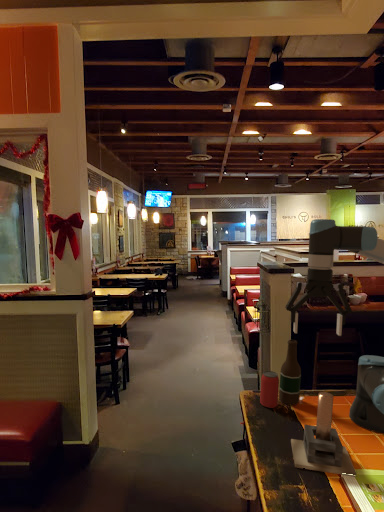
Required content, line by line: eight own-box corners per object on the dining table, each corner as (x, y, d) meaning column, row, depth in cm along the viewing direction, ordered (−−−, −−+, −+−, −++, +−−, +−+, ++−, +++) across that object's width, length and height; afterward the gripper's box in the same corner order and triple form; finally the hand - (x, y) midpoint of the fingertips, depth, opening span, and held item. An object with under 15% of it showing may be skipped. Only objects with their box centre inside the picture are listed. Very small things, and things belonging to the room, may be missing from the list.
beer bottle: (300, 406, 132) (304, 344, 130) (279, 404, 133) (283, 342, 131) (297, 397, 139) (301, 338, 138) (278, 394, 141) (281, 336, 139)
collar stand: (344, 449, 106) (346, 427, 106) (356, 476, 94) (358, 452, 94) (290, 441, 109) (292, 420, 108) (295, 467, 97) (296, 443, 97)
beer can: (277, 409, 129) (279, 378, 128) (259, 407, 130) (261, 376, 129) (277, 401, 135) (278, 371, 134) (259, 399, 137) (261, 369, 136)
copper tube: (327, 451, 103) (331, 392, 102) (330, 460, 99) (334, 399, 98) (313, 449, 104) (317, 391, 103) (315, 458, 100) (319, 397, 99)
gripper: (357, 268, 113) (353, 332, 114) (278, 265, 116) (276, 327, 117) (365, 270, 106) (361, 339, 107) (281, 267, 108) (278, 334, 110)
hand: (316, 333), depth 112 cm, fingers open, 13 cm apart
